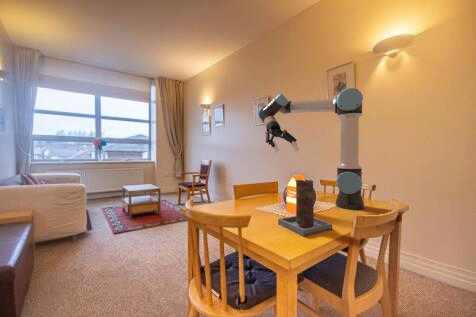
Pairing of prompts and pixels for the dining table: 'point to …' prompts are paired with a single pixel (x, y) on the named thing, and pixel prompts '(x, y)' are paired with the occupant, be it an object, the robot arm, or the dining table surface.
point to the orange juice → (292, 193)
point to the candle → (304, 203)
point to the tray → (293, 226)
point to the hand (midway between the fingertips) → (288, 150)
